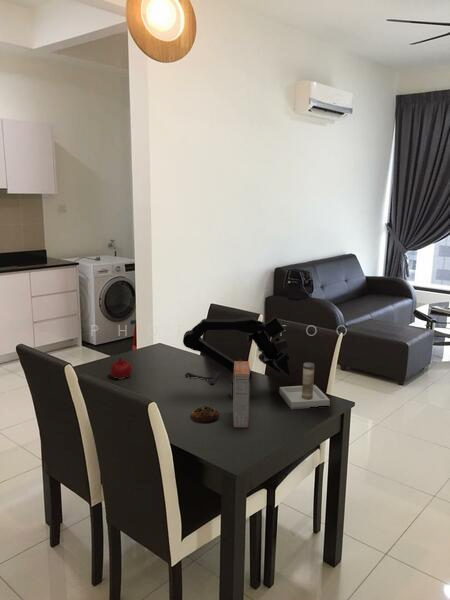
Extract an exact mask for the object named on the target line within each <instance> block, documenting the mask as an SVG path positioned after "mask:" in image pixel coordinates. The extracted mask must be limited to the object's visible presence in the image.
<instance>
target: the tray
mask: <svg viewBox="0 0 450 600" xmlns="http://www.w3.org/2000/svg"><path fill="white" fill-rule="evenodd" d="M278 389H279V395H280V396H281V398H282V399H283V401H284V402H285V403H286V405H287V406H288V407H289V408H290V410H305V409H311V408H310V407H318V406H329V407H330V406H331V405H330V404H331V399H330V398H329V397H328V396H327V395H326V394H325V393H324V392H323V391H322V390H321V389H320V388H319V387H318V386H317V385H316V384H313V398H312V399H311V400H306V399H303V398H302V385H293V386H279V388H278Z"/></svg>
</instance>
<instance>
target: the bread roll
mask: <svg viewBox="0 0 450 600" xmlns="http://www.w3.org/2000/svg"><path fill="white" fill-rule="evenodd" d="M190 418H191V420H193V421H194V422H197V423H201V424H211V423H215V422H216V421H218V420H219V418H220V412H219V410H218V409H217V408H214V407H212V406H209V405H203V406H200V407H197V408H195V409H193V410H192V411H191V413H190Z"/></svg>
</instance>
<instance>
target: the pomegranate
mask: <svg viewBox="0 0 450 600" xmlns="http://www.w3.org/2000/svg"><path fill="white" fill-rule="evenodd" d="M112 363H113V364H112V365H111V366H110V368H109V374H110V376H111V377H112V376H114V377H118V378H122V377H127V376H128V377H130V376H131V374H132V372H133V367H132V365H131V363H130V362H129V361H128V360H125V359H123V360H122V357H118V361H117V360H113V361H112ZM128 377H127V378H128Z"/></svg>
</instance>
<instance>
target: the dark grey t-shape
mask: <svg viewBox="0 0 450 600" xmlns="http://www.w3.org/2000/svg"><path fill="white" fill-rule="evenodd" d="M214 375H215V376H214ZM220 375H221V373H220V372H219V371H218V372H217V371H216V373H214V374H211V375H209V376H210V377H203V376H204V375H203V376H201V375H197V374H193V373H191V372H186V373H185V374H184V377H185V376H188V377H198V378H203V379H205V380H206V381H205V380H204V381H205V382H207V379H208V382H209V383H210V384H209V383H208V382H207V383H208V384H209V385H210V386H212V385H213V386H215V384H216V382H217V381H216V380H218V379H217V378H219V376H220ZM213 376H214V377H213ZM210 379H213V380H210ZM211 384H212V385H211Z"/></svg>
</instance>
